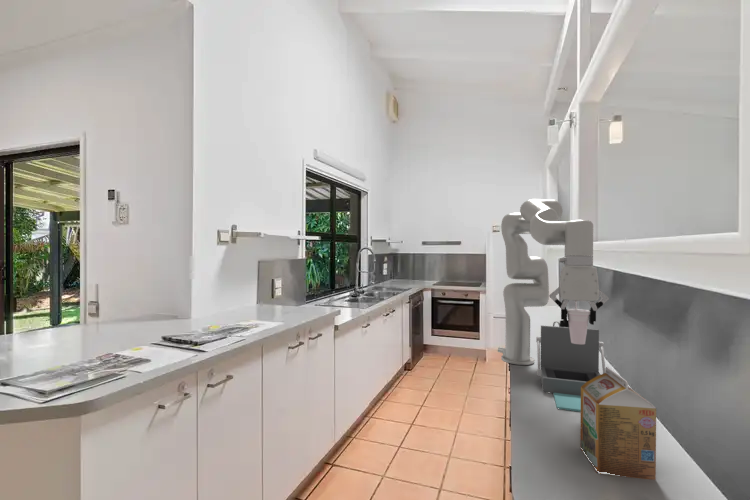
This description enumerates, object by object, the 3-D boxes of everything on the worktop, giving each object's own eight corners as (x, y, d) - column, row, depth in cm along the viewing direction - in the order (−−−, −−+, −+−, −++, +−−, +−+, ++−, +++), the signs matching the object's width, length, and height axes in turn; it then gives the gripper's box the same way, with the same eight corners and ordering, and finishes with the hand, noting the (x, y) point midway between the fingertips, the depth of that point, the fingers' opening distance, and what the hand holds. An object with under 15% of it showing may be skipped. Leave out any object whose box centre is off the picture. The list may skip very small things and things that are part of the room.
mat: (557, 408, 113) (557, 406, 113) (553, 394, 125) (553, 392, 125) (605, 415, 109) (605, 412, 109) (596, 399, 121) (596, 397, 121)
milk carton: (655, 479, 79) (656, 383, 79) (597, 474, 80) (598, 380, 80) (631, 453, 89) (631, 367, 89) (580, 448, 91) (581, 365, 91)
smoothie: (563, 340, 121) (563, 294, 121) (586, 341, 120) (586, 294, 120) (569, 344, 115) (569, 296, 115) (593, 346, 114) (593, 297, 114)
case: (538, 391, 127) (538, 333, 127) (536, 377, 142) (536, 325, 142) (612, 400, 120) (613, 339, 120) (602, 384, 135) (602, 329, 135)
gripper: (547, 261, 117) (547, 323, 117) (615, 263, 111) (614, 327, 111) (545, 261, 124) (545, 319, 124) (609, 262, 118) (608, 322, 118)
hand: (578, 322), depth 118 cm, fingers closed on smoothie, 6 cm apart
